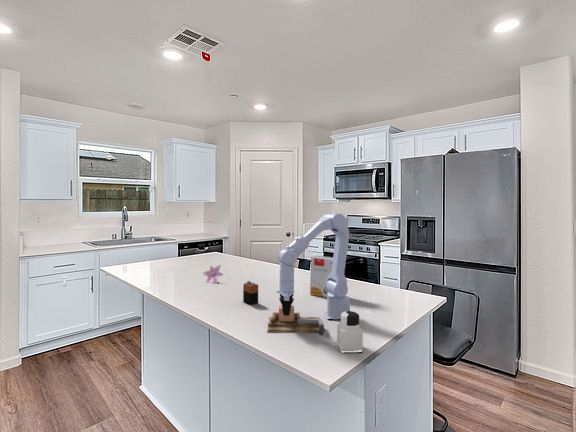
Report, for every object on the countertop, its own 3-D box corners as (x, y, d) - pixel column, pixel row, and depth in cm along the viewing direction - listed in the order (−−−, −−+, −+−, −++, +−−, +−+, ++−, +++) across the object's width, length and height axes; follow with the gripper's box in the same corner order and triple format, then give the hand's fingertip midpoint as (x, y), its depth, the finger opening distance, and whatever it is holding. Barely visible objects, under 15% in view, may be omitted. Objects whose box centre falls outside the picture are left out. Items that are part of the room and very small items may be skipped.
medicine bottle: (357, 343, 112) (358, 309, 112) (362, 353, 105) (363, 316, 104) (336, 343, 112) (337, 309, 111) (340, 353, 105) (341, 316, 104)
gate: (321, 326, 127) (321, 318, 127) (324, 334, 119) (324, 325, 119) (297, 325, 127) (297, 317, 127) (298, 334, 119) (298, 325, 119)
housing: (319, 319, 135) (319, 312, 135) (323, 332, 121) (323, 324, 121) (269, 318, 135) (269, 311, 135) (267, 331, 121) (267, 324, 121)
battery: (250, 300, 160) (250, 280, 160) (258, 303, 155) (258, 282, 155) (242, 302, 157) (242, 281, 157) (251, 305, 152) (251, 284, 152)
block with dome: (293, 317, 132) (293, 304, 132) (293, 321, 128) (294, 307, 128) (278, 317, 132) (279, 304, 132) (278, 321, 128) (278, 307, 128)
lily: (201, 282, 199) (198, 270, 194) (216, 272, 206) (214, 260, 201) (213, 291, 192) (211, 279, 187) (228, 280, 200) (227, 269, 195)
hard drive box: (309, 295, 171) (310, 257, 170) (315, 291, 177) (315, 255, 177) (337, 299, 163) (338, 260, 163) (342, 295, 170) (343, 257, 169)
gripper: (277, 275, 137) (276, 307, 137) (276, 284, 122) (275, 319, 123) (294, 275, 137) (293, 307, 137) (295, 284, 122) (294, 319, 123)
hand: (286, 313), depth 130 cm, fingers closed on block with dome, 4 cm apart
